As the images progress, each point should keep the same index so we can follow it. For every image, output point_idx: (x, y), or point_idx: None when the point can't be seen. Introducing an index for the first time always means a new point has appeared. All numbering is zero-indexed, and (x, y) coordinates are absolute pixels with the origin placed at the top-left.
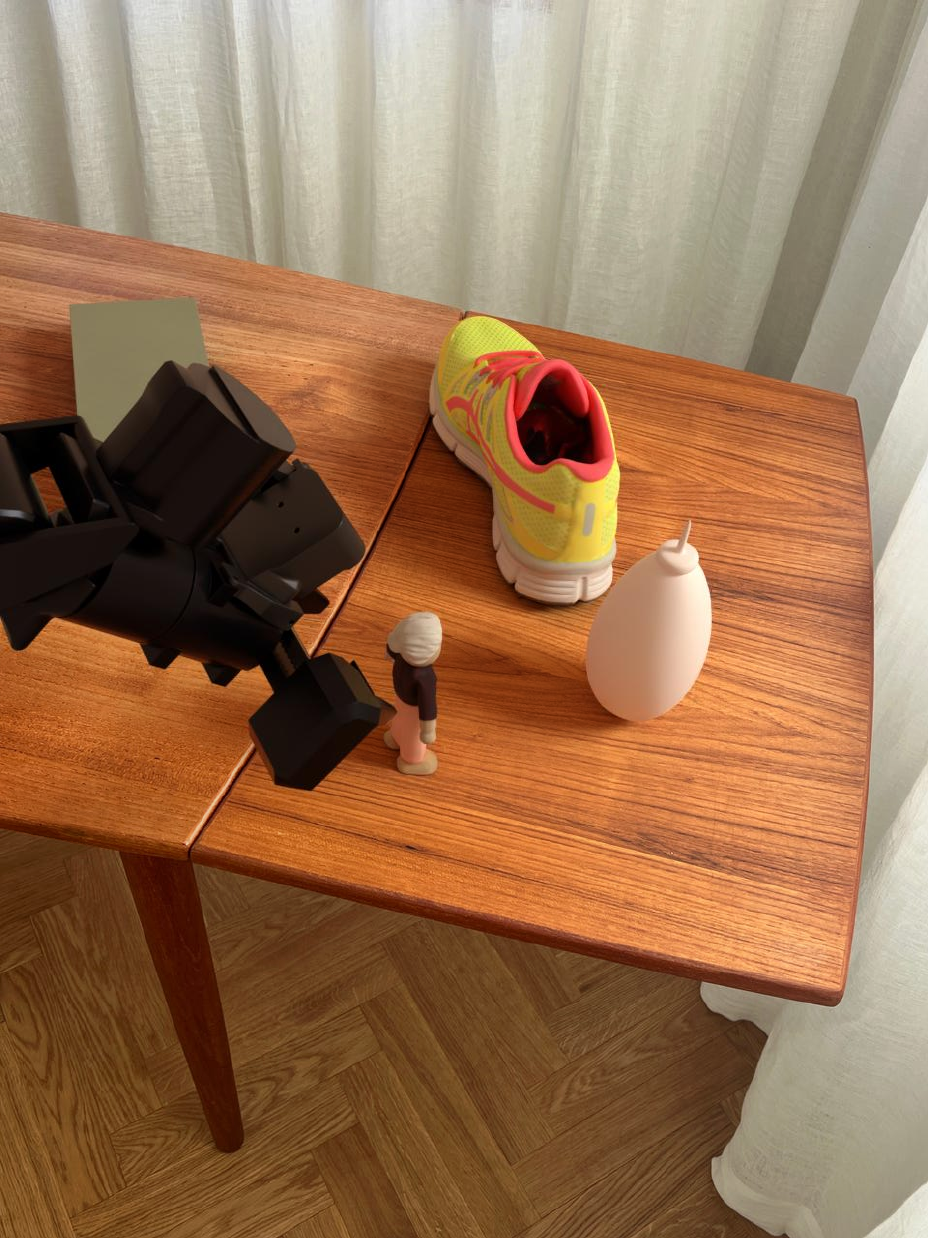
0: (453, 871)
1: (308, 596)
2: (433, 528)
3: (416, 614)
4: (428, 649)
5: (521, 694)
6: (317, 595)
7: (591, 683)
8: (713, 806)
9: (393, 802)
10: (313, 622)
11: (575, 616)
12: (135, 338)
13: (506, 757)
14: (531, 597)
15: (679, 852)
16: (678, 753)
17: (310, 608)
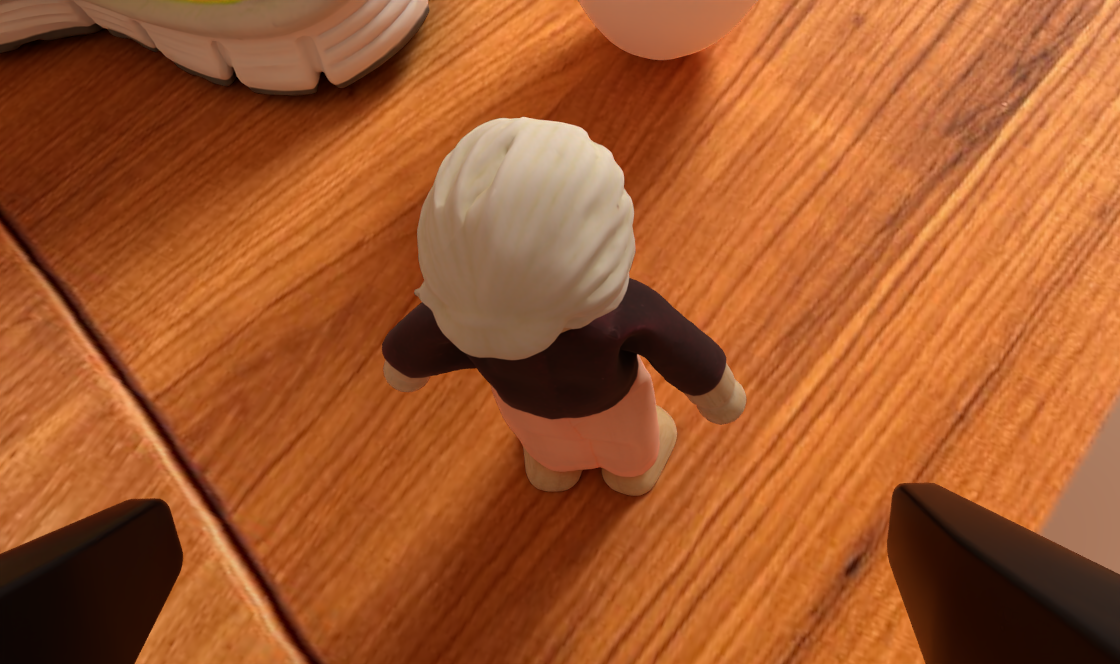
0: None
1: (60, 613)
2: (100, 161)
3: (447, 183)
4: (627, 217)
5: None
6: (87, 556)
7: (663, 26)
8: (924, 10)
9: (717, 547)
10: None
11: (442, 32)
12: None
13: (694, 270)
14: (371, 65)
15: (1006, 92)
16: (798, 11)
17: (134, 609)
